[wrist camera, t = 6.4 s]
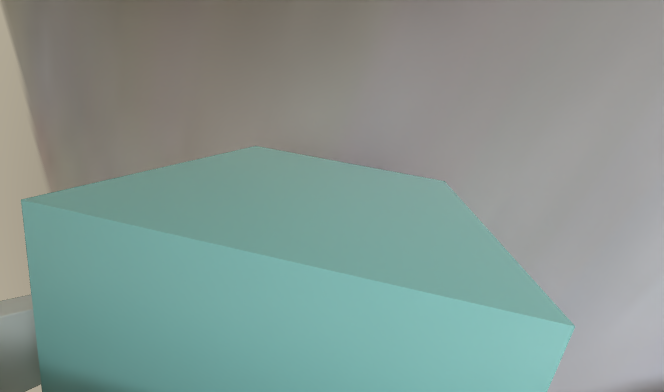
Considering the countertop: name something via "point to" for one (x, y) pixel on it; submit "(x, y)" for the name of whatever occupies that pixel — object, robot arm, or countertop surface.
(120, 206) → the teal cube
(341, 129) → the countertop surface
